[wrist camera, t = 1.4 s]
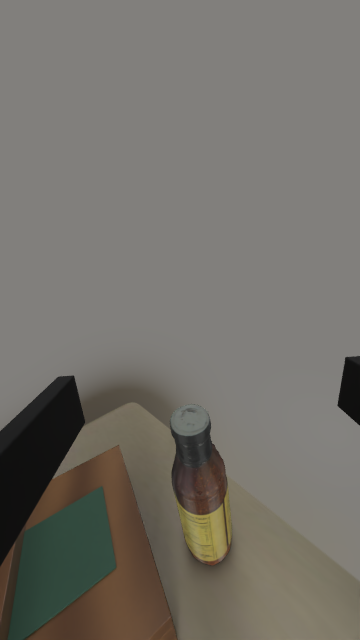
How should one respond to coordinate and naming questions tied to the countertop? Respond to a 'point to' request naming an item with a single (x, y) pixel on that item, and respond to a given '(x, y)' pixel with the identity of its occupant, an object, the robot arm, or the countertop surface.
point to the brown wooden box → (84, 563)
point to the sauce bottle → (200, 486)
